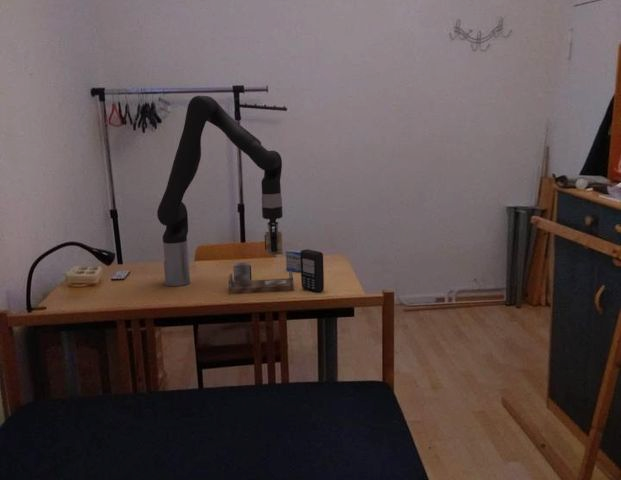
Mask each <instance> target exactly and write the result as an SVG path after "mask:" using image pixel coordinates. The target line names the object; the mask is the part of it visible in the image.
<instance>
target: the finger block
mask: <svg viewBox="0 0 621 480" xmlns="http://www.w3.org/2000/svg"><path fill="white" fill-rule="evenodd" d="M272 238H276V236H272ZM264 249H265V250H266V251H265V254H266V256H273V255H274V256H275V255H276V256H277V255H283V233H282V231H281V230H278V235H277V252H272V251H271V241H270V236H269V231H265V234H264Z"/></svg>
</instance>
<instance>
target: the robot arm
mask: <svg viewBox="0 0 621 480" xmlns="http://www.w3.org/2000/svg"><path fill="white" fill-rule="evenodd" d="M207 122H209V123H210V124H212V125H213V126H216V128H218V129H220V130H221V131H222V132H223V134H225V136H226V137H227V138H228V139H229V140H230V142H231V143H232V144H233V145H234V146H235V147H236V148H238V150H240V151H241V152H243V153H244V154H245V155H247V156H248V157H249V158H250V159H251V161H252V162H253V163H254V164H255V165H256V166H257V167H258V168H259V169H261V170H262V171H264V172H263V177H262V179H261V215H262V216H261V217H262V219H265V220H269V222H267V229H268V232H269V236H270V241H271V251H272V252H277V235H278V231H279V222H278V221H277V219H282V218H283V198H282V188H281V177H282V169H283V160H282V156H281V155H280V153H279V152H278V151H276V150H268V149H267V148H265V147H264V146H263V145H262V142H261V141H260V140H259V138H257V137H256V136H255V135H253V134H252V133H251V132H249V131H248V130H247V129H246V128H244V127H243V125H241V124H239V123H238V122H237V121H235V119H234V118H233V117H231V116H230V115H229V113H228V112H226V110H225V109H223V107H222V106H221V105H220V104H219V103H218V101H217V100H215V98H213V97H211V96H208V95H195V96H193V97H192V98H191V99H190V100H189V102H188V105H187V108H186V114H185V119H184V124H183V129H182V133H181V136H180V139H179V144H178V147H177V150H176V152H175V156H174V159H173V162H172V165H171V166H172V167H171V170H170V174H169V178H168V181H167V185H166V188H165V190H164V193H163V196H162V198H161V200H160V203H159V205H158V207H157V212H156V215H157V220H158V221H159V223H160V224H161V225H163V226H166V228H165V230H164V232H163V234H162V244H163V245H162V246H163V255H164V259H163V260H164V262H163V268H164V269H163V270H164V283H165V287H166V286H167V287H168V286H170V287H181V286H182V287H183V286H185V285H188V284H189V285H190V283H191V275H190V273H191V272H190V263H189V249H188V248H189V247H188V232H189V217H188V209H187V206H186V205H185V203H184V202H183V197H184V196H185V193H186V192H187V190H188V188H189V186H190V185H191V183H192V181H193V179H194V178H195V176H196V174H197V171H198V169H199V165H200V161H201V158H202V145H201V144H202V142H201V141H202V136H203V133H204V128H205V125H206V123H207ZM272 236H276V238H272Z"/></svg>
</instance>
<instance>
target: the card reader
mask: <svg viewBox="0 0 621 480" xmlns="http://www.w3.org/2000/svg"><path fill="white" fill-rule="evenodd" d="M300 250H301V252H300V259H301V272H300V276H301V278H300V279H301V288H303V289H304V290H307V291H310V292H314V293H321V292H323V291H324V290H325V289H324V288H325V283H324V282H325V279H324V277H325V276H324V275H325V274H324V271H325V270H324V253H322V252H321V251H316V250H312V249H307V248H306V249H300Z"/></svg>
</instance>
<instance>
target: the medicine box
mask: <svg viewBox="0 0 621 480" xmlns="http://www.w3.org/2000/svg"><path fill="white" fill-rule="evenodd" d="M301 250H302V249H287V250H286V251H285V261H286V262H285V264H286V265H285V267H286V268H285V269H286V271H287V272H289V271H292V273H293V272H294V273H301V259H300V252H301Z"/></svg>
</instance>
